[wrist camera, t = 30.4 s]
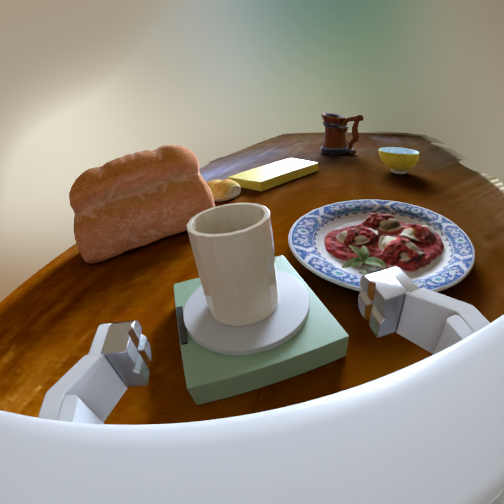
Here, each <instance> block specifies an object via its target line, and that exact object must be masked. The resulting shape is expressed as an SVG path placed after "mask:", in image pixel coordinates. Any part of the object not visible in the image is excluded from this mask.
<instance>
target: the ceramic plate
mask: <svg viewBox="0 0 504 504" xmlns="http://www.w3.org/2000/svg"><path fill="white" fill-rule="evenodd" d="M288 241H289V246H290V249H291V251H292V253H293V255H294V256H295V258H296V259H297V260H298V261H299V262H300V263H301V264H302V265H303V266H304V267H306V268H307V269H308V270H310V271H311V272H313V273H314V274H316V275H318V276H319V277H321V278H323V279H325V280H327V281H330V282H332V283H334V284H337V285H340V286H342V287H346V288H349V289H352V290H356V291H360V292H361V291H362V288H361V287H360V279H361V277H362V276H363V275H367V274H371V273H375V272H378V271H382V270H385V269H388V268H391V267H395V266H396V267H399V268H400V269H401V270H402V271H403V272H404V273H405V274H406V275H407V276H408V277H409V278H410V279H411V280H412V281H413V282H414V283H415V284H416V285H417V286H418V287H419V288H426V289H428V290H431V291H434V292H439V291H442V290H445V289H448V288H450V287H452V286H454V285H456V284H458V283H459V282H460V281H461V280H463V279H464V278H465V277H466V276H467V275H468V274H469V272H470V271H471V269H472V267H473V264H474V261H475V250H474V247H473V245H472V242H471V241H470V239H469V237H468V236H467V235H466V234H465V233H464V231H463V230H462V229H461V228H460V227H458V226H457V225H456V224H455V223H453V222H452V221H450V220H449V219H447V218H445V217H443V216H442V215H439V214H437V213H435V212H433V211H430V210H428V209H425V208H422V207H419V206H415V205H411V204H407V203H401V202H396V201H386V200H352V201H344V202H338V203H334V204H329V205H326V206H323V207H320V208H317V209H315V210H312V211H311V212H309V213H307V214H305V215H304V216H302V217H301V218H300V219H298V220H297V221H296V222H295V223H294V225H293V226H292V228H291V229H290V232H289V236H288Z"/></svg>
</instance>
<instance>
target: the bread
mask: <svg viewBox="0 0 504 504" xmlns="http://www.w3.org/2000/svg"><path fill="white" fill-rule="evenodd" d="M69 194H70V195H69V197H70V205H71V207H72V208H73V210H74V213H75V218H74V234H75V240H76V243H77V246H78V249H79V252H80V254H81V256H82V258H83V259H84V261H85V262H87V263H91V264H94V263H98V262H101V261H105V260H107V259H110V258H113V257H116V256H118V255H120V254H122V253H124V252H126V251H129V250H132V249H136V248H139V247H142V246H145V245H148V244H150V243H152V242H155V241H157V240H159V239H162V238H164V237H167V236H171V235H174V234H178V233H181V232H184V231H187V226H186V225H187V223H188V222H189V221H190V219H191V218H192V217H194V216H196V215H197V214H199V213H200V212H203V211H205V210H208V209H210V208H213V207H215V203H214V199H213V195H212V192H211V189H210V187H209V186H208V184H207V183H206V181H205V180H204V179H203V177H202V176H201V175H200V173H199V162H198V160H197V157H196V156H195V154H194V153H192V152H191V151H190V150H189V149H187V148H185V147H182V146H177V145H163V146H161V147H159V148H158V149H156V150H153V151H147V150H146V151H141V152H137V153H134V154H129V155H125V156H124V157H121V158H117V159H114V160H112V161H110V162H108V163H106V164H104V165H103V166H101V167H96V168H91V169H88V170H87V171H85V172H84V173H82V174H81V175H80V176H79V177H78V178H77V179H76V181H75V182H74V184H73V185H72V187H71V190H70V193H69Z"/></svg>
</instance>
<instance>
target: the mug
mask: <svg viewBox="0 0 504 504" xmlns="http://www.w3.org/2000/svg"><path fill="white" fill-rule="evenodd" d="M322 117H323V120H324V122H323V124H324V126H325V138H324V142H323V146H322V147H321V151H322V153H324V154H331V155H342V154H348V153H350V154H355V153H356V150H354V151H353V149H352V146H353V144H354V143H356V142H357V141H358V137H359V136H358V130H357V129H358V123H359V121H362V120H363V116H362V115H359V116H356V117H350V118H347V119H345V118H344V117H343V116H342V115H339V114H335V113H323V114H322ZM349 121H354V124H353V127H352V135H353V139H352V140H351V142H350V143H349V144H348V142H347V140H346V137H345V133H346V132H347V128H348V126H347V123H348V122H349Z"/></svg>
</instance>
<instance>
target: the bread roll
mask: <svg viewBox="0 0 504 504" xmlns="http://www.w3.org/2000/svg"><path fill="white" fill-rule="evenodd" d="M207 184H208V186H209V187H210V189H211V192H212V195H213V199H214V202H223V201H227V200H230V199H232V198H235V197H237V196H238V195H239V194H240V193H241V187H240V185H239V184H238V183H237V182H235V181H233V180H230V179H224V180H213V181H210V182H208V183H207Z"/></svg>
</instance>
